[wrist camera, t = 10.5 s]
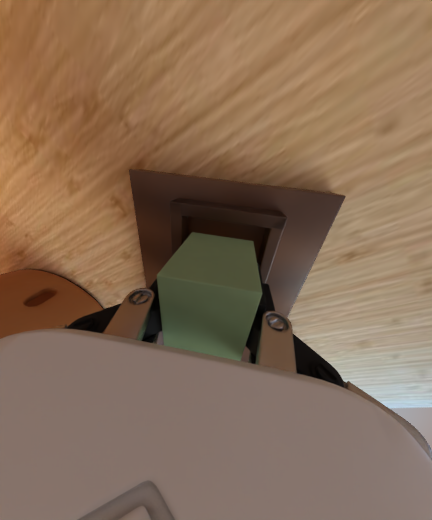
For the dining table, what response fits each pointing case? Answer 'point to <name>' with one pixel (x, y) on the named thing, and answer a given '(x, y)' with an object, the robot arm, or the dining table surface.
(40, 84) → the dining table surface
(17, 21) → the dining table surface
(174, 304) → the green pad
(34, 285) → the flower pot
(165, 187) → the backing board
